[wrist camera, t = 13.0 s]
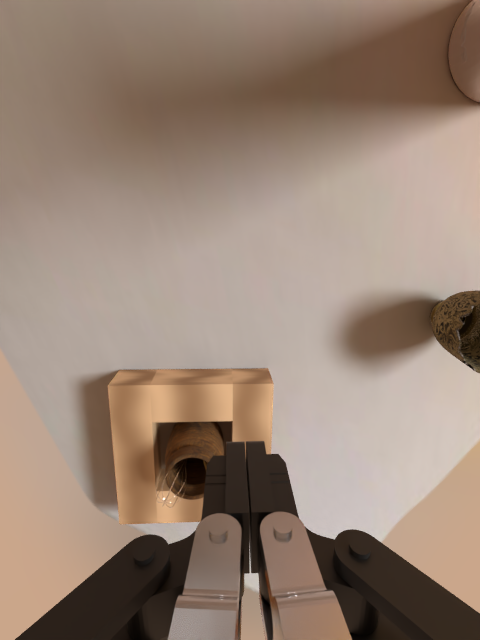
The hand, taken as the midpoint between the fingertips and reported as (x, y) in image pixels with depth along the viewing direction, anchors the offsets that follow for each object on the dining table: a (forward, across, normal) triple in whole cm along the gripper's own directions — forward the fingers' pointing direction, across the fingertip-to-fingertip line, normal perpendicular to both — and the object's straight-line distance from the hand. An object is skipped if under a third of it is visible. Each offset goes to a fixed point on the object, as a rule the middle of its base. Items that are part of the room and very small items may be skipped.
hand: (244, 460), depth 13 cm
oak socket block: (+23, +5, +14) cm, 27 cm away
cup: (+24, -23, 0) cm, 33 cm away
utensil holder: (+23, +4, +14) cm, 27 cm away
